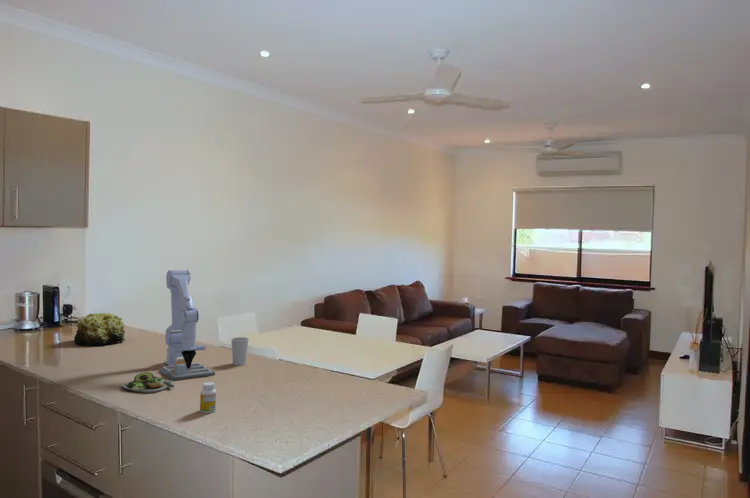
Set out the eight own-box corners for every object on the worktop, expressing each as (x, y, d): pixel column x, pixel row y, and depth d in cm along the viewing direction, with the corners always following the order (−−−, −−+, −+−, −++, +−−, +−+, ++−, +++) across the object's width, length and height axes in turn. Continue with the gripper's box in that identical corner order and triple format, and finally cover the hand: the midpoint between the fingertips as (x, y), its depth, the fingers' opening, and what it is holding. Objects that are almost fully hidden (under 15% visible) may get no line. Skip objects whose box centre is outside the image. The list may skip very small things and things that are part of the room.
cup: (243, 366, 262) (244, 341, 262) (227, 364, 264) (228, 339, 263) (250, 362, 270) (251, 338, 270) (235, 361, 271) (236, 336, 271)
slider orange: (174, 371, 243) (174, 360, 243) (183, 370, 246) (184, 359, 246) (176, 372, 241) (176, 362, 241) (185, 371, 243) (186, 361, 243)
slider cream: (175, 367, 250) (175, 357, 249) (184, 366, 252) (184, 356, 252) (177, 369, 247) (177, 358, 247) (186, 368, 250) (186, 358, 249)
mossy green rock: (109, 336, 319) (110, 308, 318) (133, 342, 305) (134, 313, 304) (64, 342, 298) (65, 312, 298) (87, 349, 284) (88, 318, 284)
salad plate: (186, 385, 229) (186, 374, 228) (157, 397, 212) (157, 385, 211) (147, 379, 234) (147, 368, 234) (115, 390, 217) (116, 379, 217)
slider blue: (174, 374, 238) (175, 364, 237) (184, 373, 240) (184, 363, 240) (176, 376, 235) (177, 365, 235) (186, 375, 238) (186, 364, 237)
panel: (159, 371, 247) (159, 366, 247) (201, 366, 258) (201, 362, 258) (171, 380, 233) (171, 376, 233) (215, 375, 244) (215, 370, 244)
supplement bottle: (201, 408, 200) (202, 381, 200) (217, 408, 200) (218, 381, 200) (198, 413, 194) (199, 385, 194) (214, 413, 195) (215, 385, 195)
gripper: (175, 340, 237) (174, 371, 238) (208, 337, 246) (207, 367, 247) (170, 337, 243) (169, 367, 244) (202, 334, 252) (201, 364, 252)
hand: (188, 367), depth 245 cm, fingers closed
